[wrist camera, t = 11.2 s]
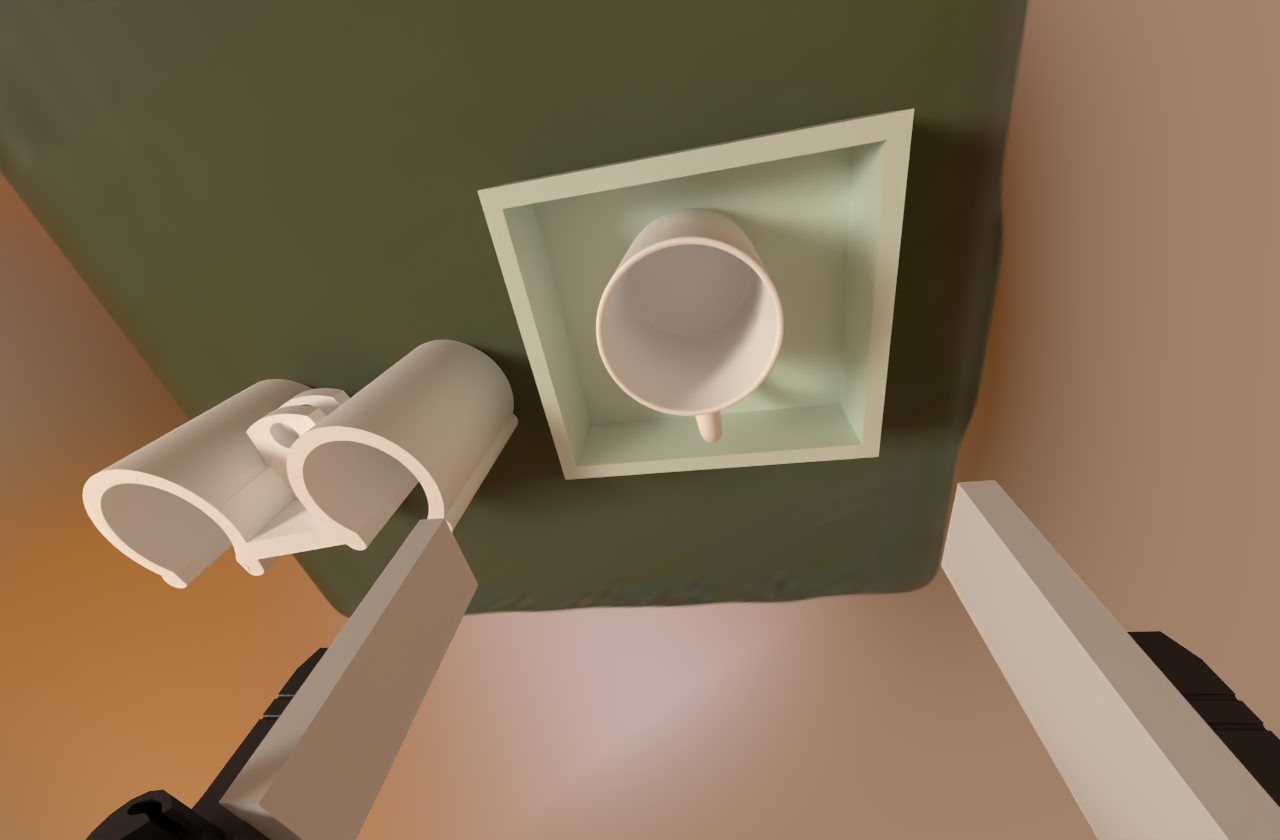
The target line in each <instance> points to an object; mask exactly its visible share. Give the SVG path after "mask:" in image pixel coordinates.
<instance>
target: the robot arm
mask: <svg viewBox="0 0 1280 840" xmlns="http://www.w3.org/2000/svg"><path fill="white" fill-rule="evenodd" d="M941 566H942V568H943V570H944V572H945V573H946V575H947V577H948V579H949V580H950V582H951V584H952V586H953V587H954V589H955V591H956V593H957V594H958V596H959V598H960V600H961V601H962V603H963V604H964V606H965V608H966V610H967V612H968V613H969V615H970V617H971V619H972V621H973V622H974V624H975V626H976V627H977V629H978V631H979V633H980V634H981V636H982V638H983V640H984V641H985V643H986V645H987V647H988V648H989V650H990V652H991V654H992V655H993V657H994V659H995V661H996V662H997V664H998V666H999V668H1000V669H1001V671H1002V673H1003V675H1004V676H1005V678H1006V680H1007V681H1008V683H1009V685H1010V687H1011V688H1012V690H1013V692H1014V693H1015V695H1016V697H1017V699H1018V701H1019V702H1020V704H1021V706H1022V707H1023V709H1024V711H1025V713H1026V715H1027V716H1028V718H1029V720H1030V721H1031V723H1032V725H1033V727H1034V729H1035V730H1036V732H1037V734H1038V736H1039V737H1040V739H1041V741H1042V743H1043V744H1044V746H1045V748H1046V749H1047V751H1048V753H1049V755H1050V757H1051V758H1052V760H1053V762H1054V763H1055V765H1056V767H1057V769H1058V770H1059V772H1060V774H1061V776H1062V777H1063V779H1064V781H1065V783H1066V784H1067V786H1068V788H1069V790H1070V791H1071V793H1072V795H1073V796H1074V798H1075V800H1076V802H1077V803H1078V805H1079V807H1080V809H1081V811H1082V812H1083V814H1084V816H1085V818H1086V819H1087V821H1088V823H1089V824H1090V826H1091V828H1092V830H1093V831H1094V833H1095V835H1096V837H1097V838H1098V840H1280V740H1279V739H1278V738H1277V737H1276V736H1275V735H1274V734H1273V732H1272V731H1268V730H1266V729H1265V728H1264V726H1263V722H1262V721H1261V720H1260V719H1259V718H1258V717H1257V716H1256V715H1255V714H1254V713H1253V712H1252V711H1251V710H1250V709H1249V708H1248V707H1247V706H1246V705H1245V704H1244V703H1243V702H1242V701H1239V700H1237V699H1236V697H1235V693H1234V692H1233V691H1232V690H1231V689H1230V688H1229V687H1228V686H1227V685H1226V684H1225V683H1224V682H1223V681H1222V680H1221V679H1220V678H1219V677H1218V676H1217V675H1216V674H1215V673H1214V672H1213V671H1212V670H1211V669H1210V668H1209V666H1208V665H1207V664H1206V663H1205V662H1204V661H1203V660H1202V659H1200V658H1199V657H1197V656H1196V655H1194V654H1193V653H1191V652H1190V651H1188V650H1187V649H1186V648H1184V647H1183V646H1181V645H1179V644H1178V643H1177V642H1175V641H1174V640H1172V639H1171V638H1169V637H1168V636H1166V635H1165V634H1163V633H1162V632H1160V631H1157V632H1126V631H1125V629H1124V628H1123V627H1122V626H1121V625H1120V624H1119V622H1118V621H1117V620H1116V619H1115V618H1114V617H1113V616H1112V614H1111V613H1110V612H1109V611H1108V610H1107V609H1106V607H1105V606H1104V605H1103V604H1102V603H1101V602H1100V601H1099V599H1098V598H1097V597H1096V596H1095V595H1094V594H1093V593H1092V592H1091V590H1090V589H1089V588H1088V587H1087V586H1086V585H1085V583H1084V582H1083V581H1082V580H1081V579H1080V578H1079V577H1078V576H1077V574H1076V573H1075V572H1074V571H1073V570H1072V569H1071V567H1070V566H1069V565H1068V564H1067V563H1066V562H1065V560H1064V559H1063V558H1062V557H1061V556H1060V555H1059V554H1058V552H1057V551H1056V550H1055V549H1054V548H1053V547H1052V546H1051V544H1050V543H1049V542H1048V541H1047V540H1046V539H1045V537H1044V536H1043V535H1042V534H1041V533H1040V532H1039V531H1038V529H1037V528H1036V527H1035V526H1034V525H1033V524H1032V523H1031V521H1030V520H1029V519H1028V518H1027V517H1026V516H1025V514H1024V513H1022V511H1021V510H1020V509H1019V508H1018V507H1017V505H1016V504H1015V503H1014V502H1013V501H1012V500H1011V498H1010V497H1009V496H1008V495H1007V494H1006V493H1005V492H1004V491H1003V489H1002V488H1001V487H1000V486H999V485H998V484H997V482H996V481H994V480H991V481H976V482H961V483H958V485H957V490H956V495H955V500H954V505H953V510H952V515H951V520H950V524H949V529H948V534H947V539H946V544H945V549H944V554H943V558H942V564H941ZM477 586H478V584H477V582H476V580H475V578H474V576H473V574H472V572H471V570H470V568H469V566H468V564H467V562H466V560H465V558H464V556H463V554H462V552H461V550H460V548H459V546H458V544H457V542H456V540H455V538H454V536H453V534H452V532H451V530H450V528H449V526H448V524H447V522H446V520H445V518H439V519H425V520H419V522H418V523H417V525H416V526H415V527H414V529H413V530H412V532H411V533H410V534H409V536H408V537H407V539H406V540H405V541H404V543H403V544H402V546H401V547H400V549H399V550H398V551H397V553H396V554H395V556H394V557H393V558H392V560H391V561H390V563H389V564H388V565H387V567H386V568H385V570H384V571H383V572H382V574H381V575H380V577H379V578H378V579H377V581H376V582H375V584H374V585H373V586H372V588H371V589H370V591H369V592H368V593H367V595H366V596H365V598H364V599H363V600H362V602H361V603H360V605H359V606H358V607H357V609H356V610H355V612H354V613H353V614H352V616H351V617H350V619H349V620H348V621H347V623H346V624H345V626H344V627H343V629H342V630H341V631H340V633H339V634H338V636H337V637H336V638H335V640H334V641H333V643H332V644H331V646H330V647H329V648H320V649H318V650H317V651H316V652H315V653H314V654H313V655H312V656H311V657H310V658H309V659H308V660H306V661H305V662H304V663H303V664H302V665H301V666H300V667H299V668H298V669H297V670H296V671H295V672H294V674H293V675H292V676H291V678H290V679H289V681H288V682H287V683H286V684H285V686H284V687H283V689H282V690H281V691H280V693H279V697H278V698H277V699H274V701H273V702H272V703H271V705H270V706H269V707H268V709H267V710H266V711H265V713H264V714H263V715H264V717H263V719H261V720H259V721H258V722H257V723H256V725H255V726H254V727H253V729H252V730H251V732H250V733H249V734H248V736H247V737H246V738H245V740H244V741H243V743H242V744H241V745H240V746H239V748H238V749H237V750H236V752H235V753H234V754H233V756H232V757H231V758H230V760H229V761H228V762H227V764H226V765H225V766H224V768H223V769H222V771H221V772H220V773H219V775H218V776H217V777H216V779H215V780H214V781H213V783H212V784H211V785H210V787H209V788H208V790H207V791H206V792H205V793H204V795H203V796H202V797H201V798H200V800H199V801H198V802H197V803H196V804H195V806H194V807H193V808H192V809H190V808H189V807H187V806H186V805H184V804H183V803H181V802H180V801H179V800H177V799H176V798H174V797H173V796H171V795H170V794H168V793H167V792H166V791H164V790H157V791H149V792H147V793H145V794H142V795H140V796H138V797H136V798H134V799H132V800H130V801H129V802H127V803H126V804H124V805H123V806H122V807H120V808H119V809H117V810H116V811H115V812H113V813H112V814H111V815H109V817H107V818H106V819H105V820H104V821H103V822H102V823H101V824H100V825H99V826H98V827H97V828H96V829H95V830H94V831H93V832H92V833H91V834H90V835H89V836H88V838H87V839H86V840H356V838H357V836H358V834H359V832H360V830H361V828H362V826H363V824H364V822H365V820H366V818H367V816H368V813H369V811H370V809H371V807H372V805H373V803H374V801H375V799H376V797H377V795H378V793H379V791H380V788H381V786H382V784H383V782H384V780H385V778H386V776H387V774H388V771H389V770H390V768H391V766H392V763H393V761H394V759H395V757H396V755H397V753H398V751H399V749H400V747H401V745H402V742H403V740H404V738H405V736H406V734H407V732H408V730H409V728H410V726H411V724H412V722H413V720H414V718H415V716H416V713H417V711H418V709H419V707H420V705H421V703H422V701H423V699H424V697H425V695H426V693H427V690H428V688H429V686H430V684H431V682H432V680H433V678H434V676H435V674H436V671H437V670H438V668H439V665H440V663H441V661H442V659H443V657H444V655H445V653H446V651H447V649H448V647H449V644H450V643H451V640H452V638H453V636H454V634H455V632H456V630H457V628H458V626H459V624H460V622H461V620H462V618H463V616H464V613H465V611H466V609H467V607H468V605H469V603H470V601H471V599H472V597H473V595H474V593H475V591H476V588H477Z"/></svg>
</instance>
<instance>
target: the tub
mask: <svg viewBox="0 0 1280 840" xmlns="http://www.w3.org/2000/svg"><path fill="white" fill-rule="evenodd" d="M913 116H914V109H907V110H899V111H892V112H885V113H878V114H871V115H865V116H860V117H854V118H849V119H844V120H838V121H833V122H828V123H823V124H817V125H812V126H807V127H801V128H796V129H791V130H786V131H780V132H775V133H770V134H764V135H759V136H754V137H749V138H743V139H738V140H733V141H727V142H722V143H717V144H712V145H706V146H701V147H696V148H690V149H685V150H680V151H675V152H669V153H664V154H659V155H653V156H648V157H643V158H638V159H632V160H627V161H622V162H616V163H611V164H606V165H601V166H595V167H590V168H585V169H579V170H574V171H569V172H563V173H558V174H553V175H548V176H542V177H537V178H532V179H526V180H521V181H516V182H512V183H508V184H503V185H499V186H495V187H491V188H487V189H482V190H478V195H479V198H480V201H481V204H482V208H483V211H484V214H485V218H486V221H487V224H488V227H489V231H490V234H491V237H492V241H493V244H494V247H495V250H496V254H497V257H498V260H499V263H500V267H501V270H502V273H503V277H504V280H505V283H506V286H507V290H508V293H509V296H510V300H511V303H512V306H513V309H514V313H515V316H516V319H517V322H518V326H519V329H520V332H521V336H522V339H523V342H524V345H525V349H526V352H527V355H528V359H529V362H530V365H531V368H532V372H533V375H534V378H535V381H536V385H537V388H538V391H539V395H540V398H541V401H542V404H543V408H544V411H545V414H546V418H547V421H548V424H549V427H550V431H551V434H552V437H553V440H554V444H555V447H556V450H557V454H558V457H559V460H560V463H561V467H562V470H563V473H564V477H565V480H569V479H582V478H596V477H609V476H623V475H637V474H650V473H664V472H677V471H691V470H705V469H718V468H732V467H745V466H759V465H772V464H786V463H800V462H813V461H827V460H840V459H854V458H868V457H879V448H880V438H881V428H882V418H883V409H884V399H885V389H886V379H887V370H888V360H889V350H890V340H891V331H892V321H893V311H894V301H895V292H896V282H897V272H898V262H899V252H900V243H901V233H902V223H903V213H904V204H905V194H906V184H907V174H908V165H909V155H910V145H911V135H912V126H913ZM688 208H699V209H706V210H710V211H713V212H716V213H719V214H721V215H723V216H725V217H727V218H728V219H730V220H731V221H733V222H734V223H735V224H736V225H738V226H739V227H740V228H741V229H742V230H743V232H744V233H745V234H746V235H747V237H748V238H749V240H750V241H751V243H752V245H753V246H754V248H755V250H756V252H757V254H758V256H759V257H760V259H761V261H762V263H763V265H764V267H765V268H766V270H767V272H768V274H769V276H770V278H771V280H772V281H773V283H774V285H775V287H776V289H777V292H778V294H779V297H780V300H781V303H782V307H783V314H784V336H783V342H782V346H781V350H780V353H779V355H778V358H777V360H776V362H775V364H774V366H773V368H772V370H771V371H770V373H769V375H768V376H767V377H766V379H765V380H764V381H763V382H762V383H761V384H760V386H759V387H758V388H757V389H756V390H754V391H753V392H752V393H751V394H750V395H748V396H747V397H746V398H744V399H743V400H741V401H740V402H738V403H736V404H734V405H732V406H730V407H728V408H726V409H723V410H721V411H720V414H721V425H722V436H721V438H720V439H719V440H718V441H717V442H714V443H709V442H707V441H705V440H704V439H703V438H702V436H701V434H700V431H699V428H698V424H697V421H696V417H695V416H680V415H672V414H667V413H663V412H660V411H657V410H654V409H651V408H649V407H647V406H645V405H643V404H641V403H639V402H638V401H636V400H635V399H633V398H632V397H631V396H629V395H628V394H627V393H626V392H625V391H623V390H622V389H621V388H620V387H619V385H618V384H617V383H616V382H615V381H614V379H613V378H612V377H611V375H610V374H609V372H608V370H607V369H606V367H605V365H604V363H603V361H602V358H601V355H600V352H599V348H598V344H597V338H596V317H597V311H598V307H599V303H600V300H601V297H602V295H603V292H604V290H605V288H606V286H607V284H608V283H609V281H610V279H611V278H612V276H613V274H614V273H615V271H616V269H617V268H618V266H619V264H620V263H621V261H622V259H623V258H624V256H625V254H626V253H627V251H628V249H629V248H630V246H631V244H632V243H633V241H634V240H635V238H636V237H637V236H638V235H639V233H640V232H641V231H642V230H643V229H644V228H645V227H646V226H648V225H649V224H650V223H651V222H653V221H654V220H655V219H657V218H659V217H661V216H662V215H665V214H667V213H669V212H672V211H676V210H680V209H688Z"/></svg>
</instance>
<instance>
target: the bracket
mask: <svg viewBox="0 0 1280 840" xmlns="http://www.w3.org/2000/svg"><path fill="white" fill-rule="evenodd" d="M513 408H514V399H513V393H512V389H511V386H510V384H509V382H508V380H507V378H506V376H505V374H504V373H503V371H502V370H501V369H500V368H499V366H498V365H497V364H496V363H495V362H494V361H493V360H492V359H491V358H490V357H488V356H487V355H486V354H484V353H483V352H481V351H480V350H478V349H476V348H474V347H472V346H470V345H467V344H465V343H461V342H458V341H452V340H435V341H430V342H427V343H424V344H422V345H420V346H418V347H417V348H415V349H414V350H413V351H411V352H410V353H409V354H408V355H406V356H405V357H404V358H402V359H401V360H400V361H398V362H397V363H396V364H394V365H393V366H392V367H391V368H389V369H388V370H387V371H385V372H384V373H383V374H381V375H380V376H379V377H377V378H376V379H375V380H373V381H372V382H371V383H370V384H368V385H367V386H366V387H364V388H363V389H362V390H360V391H359V392H358V393H356V394H355V395H354V396H353V397H351V398H350V397H349V396H348V395H347V394H346V393H345V392H344V391H343V390H339V389H331V388H319V389H312V388H310V387H308V386H306V385H303V384H300V383H297V382H294V381H289V380H283V379H269V380H264V381H261V382H258V383H256V384H254V385H252V386H251V387H249V388H247V389H245V390H243V391H242V392H240V393H238V394H236V395H235V396H233V397H231V398H229V399H228V400H226V401H224V402H222V403H220V404H219V405H217V406H215V407H213V408H212V409H210V410H208V411H206V412H205V413H203V414H201V415H199V416H197V417H196V418H194V419H192V420H190V421H189V422H187V423H185V424H183V425H182V426H180V427H178V428H176V429H174V430H173V431H171V432H169V433H167V434H166V435H164V436H162V437H160V438H159V439H157V440H155V441H153V442H151V443H150V444H148V445H146V446H144V447H143V448H141V449H139V450H137V451H135V452H134V453H132V454H130V455H129V456H127V457H125V458H123V459H121V460H120V461H118V462H116V463H114V464H113V465H111V466H109V467H107V468H105V469H104V470H102V471H100V472H99V473H97V474H95V475H93V476H92V477H90V478H89V480H88V481H87V482H86V484H85V486H84V488H83V502H84V506H85V509H86V511H87V513H88V515H89V517H90V519H91V520H92V522H93V523H94V524H95V526H96V527H97V529H98V530H99V531H100V532H101V533H102V534H103V535H104V537H105V538H106V539H108V541H109V542H111V543H112V544H113V545H114V546H115V547H116V548H118V549H119V550H120V551H121V552H122V553H124V554H125V555H127V556H128V557H130V558H131V559H132V560H134V561H135V562H137V563H139V564H140V565H142V566H144V567H145V568H147V569H149V570H151V571H153V572H155V573H157V574H159V575H162V578H163V579H164V580H165V581H166V582H167V583H168V584H170V585H171V586H173V587H176V588H185V587H186V586H188V585H189V584H190V583H191V582H192V581H193V580H194V579H195V578H197V577H198V576H199V575H200V574H201V573H202V572H203V571H204V570H206V569H207V568H208V567H209V566H210V565H211V564H212V563H214V562H215V561H216V560H217V559H218V558H219V557H220V556H221V555H223V554H224V553H225V552H226V551H227V550H228V549H229V548H230V547H232V546H233V547H234V549H235V552H236V561H237V562H239V564H240V565H241V566H243V567H244V568H245V569H246V570H247V571H248V572H249V573H250V574H251V575H256V576H259V575H262V574H263V573H264V572H265V571H266V570H267V569H268V568H269V567H270V566H271V565H272V564H273V563H274V562H275V561H276V560H277V559H278V558H279V557H280V556H281V555H286V554H292V553H298V552H303V551H309V550H314V549H320V548H326V547H331V546H337V545H343V544H347V545H348V546H349V547H351V548H353V549H355V550H364V549H366V548H367V546H368V545H369V544H370V543H371V541H372V540H373V539H374V538H375V536H376V535H377V534H378V533H379V531H380V530H381V529H382V528H383V526H384V525H385V524H386V523H387V521H388V520H389V519H390V518H391V516H392V515H393V514H394V513H395V511H396V510H397V509H398V507H399V506H400V505H401V504H402V502H403V501H404V500H405V499H406V497H407V496H408V495H409V494H410V492H411V491H412V490H413V489H414V487H415V486H416V485H417V484H418V482H420V484H421V485H422V487H423V489H424V491H425V493H426V496H427V500H428V505H429V513H428V518H427V519H439V518H445V520H446V522H447V524H448V526H449V528H450V530H451V532H452V531H453V529H454V528H455V526H456V525H457V523H458V521H459V520H460V518H461V516H462V515H463V513H464V511H465V510H466V508H467V507H468V505H469V503H470V502H471V500H472V498H473V497H474V495H475V493H476V492H477V490H478V489H479V487H480V485H481V484H482V482H483V480H484V479H485V477H486V475H487V474H488V472H489V471H490V469H491V467H492V466H493V464H494V462H495V461H496V459H497V457H498V456H499V454H500V453H501V451H502V449H503V448H504V446H505V444H506V443H507V441H508V439H509V438H510V436H511V435H512V433H513V431H514V430H515V428H516V426H517V425H518V419H517V417H516V416H515V415H514V414H513Z"/></svg>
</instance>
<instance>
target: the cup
mask: <svg viewBox="0 0 1280 840" xmlns="http://www.w3.org/2000/svg"><path fill="white" fill-rule="evenodd" d="M783 336H784V314H783V307H782V303H781V300H780V297H779V294H778V292H777V289H776V287H775V285H774V283H773V281H772V280H771V278H770V276H769V274H768V272H767V270H766V268H765V267H764V265H763V263H762V261H761V259H760V257H759V256H758V254H757V252H756V250H755V248H754V246H753V245H752V243H751V241H750V240H749V238H748V237H747V235H746V234H745V233H744V232H743V230H742V229H741V228H740V227H739V226H738V225H736V224H735V223H734V222H733V221H731V220H730V219H728V218H727V217H725V216H723V215H721V214H719V213H716V212H713V211H710V210H706V209H699V208H688V209H680V210H676V211H672V212H669V213H667V214H665V215H662V216H661V217H659V218H657V219H655V220H654V221H653V222H651V223H650V224H649V225H648V226H646V227H645V228H644V229H643V230H642V231H641V232H640V233H639V235H638V236H637V237H636V238H635V240H634V241H633V243H632V244H631V246H630V248H629V249H628V251H627V253H626V254H625V256H624V258H623V259H622V261H621V263H620V264H619V266H618V268H617V269H616V271H615V273H614V274H613V276H612V278H611V279H610V281H609V283H608V284H607V286H606V288H605V290H604V292H603V295H602V297H601V300H600V303H599V307H598V311H597V317H596V338H597V344H598V348H599V352H600V355H601V358H602V361H603V363H604V365H605V367H606V369H607V370H608V372H609V374H610V375H611V377H612V378H613V379H614V381H615V382H616V383H617V384H618V385H619V387H620V388H621V389H622V390H623V391H625V392H626V393H627V394H628V395H629V396H631V397H632V398H633V399H635V400H636V401H638V402H639V403H641V404H643V405H645V406H647V407H649V408H651V409H654V410H657V411H660V412H663V413H667V414H672V415H680V416H695V417H696V421H697V424H698V428H699V431H700V434H701V436H702V438H703V439H704V440H705V441H707V442H709V443H714V442H717V441H718V440H719V439H720V438H721V436H722V425H721V414H720V411H721V410H723V409H726V408H728V407H730V406H732V405H734V404H736V403H738V402H740V401H741V400H743V399H744V398H746V397H747V396H748V395H750V394H751V393H752V392H753V391H754V390H756V389H757V388H758V387H759V386H760V384H761V383H762V382H763V381H764V380H765V379H766V377H767V376H768V375H769V373H770V371H771V370H772V368H773V366H774V364H775V362H776V360H777V358H778V355H779V353H780V350H781V346H782V342H783Z"/></svg>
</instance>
